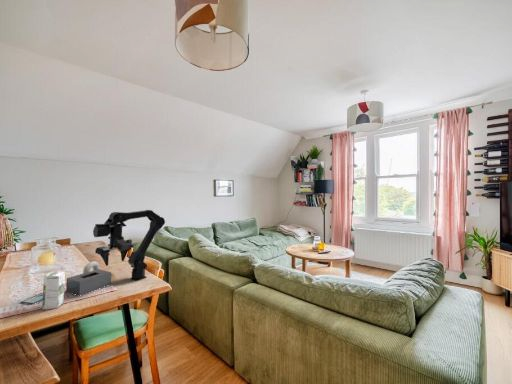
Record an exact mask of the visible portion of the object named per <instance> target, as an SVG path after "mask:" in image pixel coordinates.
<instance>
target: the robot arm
mask: <svg viewBox="0 0 512 384" xmlns="http://www.w3.org/2000/svg"><path fill="white" fill-rule="evenodd" d="M139 218H141V219H142V218H147V219H148V220H149V222H150V223H149V229H148V231H146V234H145V236H144V238H143V239H142V241H141V242H140V244H139V246H138V248H137V250H135V251H131V253H130V255H129V257H128V260H127V262H128V265H129V266H131V268H132V271H131V277H130V278H129V279H130V280H134V281H141V280H143V279H146V278H147V276H146V275H145V274H146V273H145V272H146V269H147V267H148V264H147V263H146V262H145V259H146V252H147V251H148V249H149V247H150V245H151V243H152V241H153V239H154V238H155V236H156V234H157V233H158V231H160V230H161V229H162V228H163V227H164V225H166V224H165V223H166V220H165V218H164V217H163V216H160V215H159V214H157V213H156V212H154V211H153V210H151V209H143V210H138V211H129V212H123V211H122V212H121V211H113V212H111V213H110V214H109V216H108V218H107V220H106V221H105V222H103V223H96V224H94V227H93V230H92V235H93V237H94V238H103V237H107V238H108V239H109V243H108V244H107V246H99V247H96V248H95V251H94V252H95V254H97V255H100V258H102V261H103V262H104V264H105V266H106V267H107V266H109V259H110V258H109V256H110V254H111V253H110V252H111V251H113V250H119V251H120V258H121V261H122V262H124V261H125V259H126V257H127V254H128V252H129V251H130V250H132V248H134V246H135V245H134V243H133V241H132V239H127V240H125V237H124V236H123V227H127V224H126V223H124V222H127V221H129V220H134V219H139Z"/></svg>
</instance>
